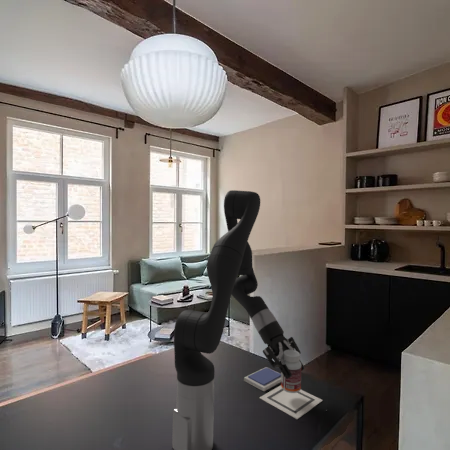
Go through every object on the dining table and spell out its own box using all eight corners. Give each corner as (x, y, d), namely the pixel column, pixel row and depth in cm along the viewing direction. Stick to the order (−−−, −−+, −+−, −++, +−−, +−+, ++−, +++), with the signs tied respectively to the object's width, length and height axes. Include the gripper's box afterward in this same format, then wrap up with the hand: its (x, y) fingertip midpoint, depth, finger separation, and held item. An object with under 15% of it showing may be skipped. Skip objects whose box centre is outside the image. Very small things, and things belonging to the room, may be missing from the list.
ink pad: (263, 391, 102) (264, 386, 102) (244, 380, 109) (244, 376, 109) (285, 379, 110) (285, 374, 110) (266, 370, 117) (266, 365, 117)
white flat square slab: (297, 419, 88) (297, 418, 88) (259, 398, 98) (259, 397, 98) (322, 400, 98) (322, 399, 98) (285, 383, 108) (285, 382, 108)
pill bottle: (304, 390, 97) (306, 354, 97) (290, 396, 94) (291, 359, 94) (290, 381, 102) (291, 347, 102) (276, 386, 99) (277, 351, 99)
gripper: (259, 325, 98) (289, 376, 90) (286, 315, 108) (316, 361, 100) (246, 336, 102) (274, 387, 94) (274, 326, 112) (301, 371, 104)
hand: (295, 373), depth 97 cm, fingers closed on pill bottle, 6 cm apart
